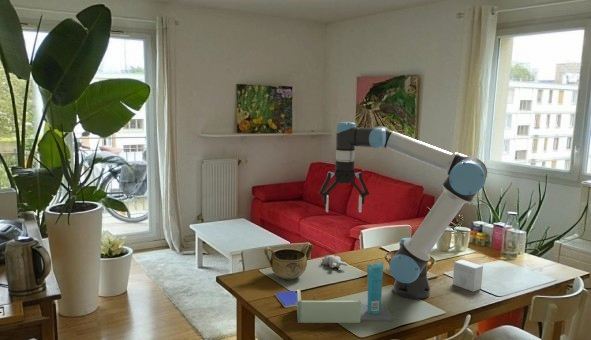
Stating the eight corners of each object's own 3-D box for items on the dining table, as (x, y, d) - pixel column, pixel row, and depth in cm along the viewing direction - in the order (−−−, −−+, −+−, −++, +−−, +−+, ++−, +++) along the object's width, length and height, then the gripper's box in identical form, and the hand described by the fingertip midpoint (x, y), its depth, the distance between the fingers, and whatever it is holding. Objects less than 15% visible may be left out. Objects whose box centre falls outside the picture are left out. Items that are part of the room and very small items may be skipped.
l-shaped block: (355, 309, 183) (356, 289, 182) (360, 322, 172) (360, 302, 171) (296, 308, 183) (297, 289, 181) (297, 322, 172) (298, 302, 170)
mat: (385, 306, 186) (385, 304, 186) (392, 320, 174) (392, 319, 174) (355, 306, 186) (355, 304, 186) (360, 320, 174) (360, 319, 174)
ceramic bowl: (304, 268, 226) (305, 237, 224) (318, 281, 210) (319, 248, 208) (259, 273, 219) (260, 242, 216) (270, 287, 203) (270, 253, 201)
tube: (376, 307, 184) (378, 259, 181) (385, 312, 180) (387, 263, 177) (362, 311, 180) (363, 263, 177) (370, 316, 176) (372, 267, 173)
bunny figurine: (336, 252, 237) (349, 259, 223) (336, 262, 237) (349, 269, 223) (318, 254, 234) (330, 261, 220) (319, 264, 234) (331, 271, 220)
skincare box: (481, 288, 205) (483, 265, 203) (473, 292, 201) (475, 268, 199) (460, 281, 213) (462, 258, 211) (452, 284, 209) (453, 261, 207)
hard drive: (304, 302, 186) (293, 290, 198) (284, 305, 184) (275, 292, 195) (304, 306, 186) (293, 293, 198) (284, 309, 184) (275, 296, 195)
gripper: (373, 159, 195) (371, 209, 198) (313, 158, 194) (312, 209, 197) (377, 162, 187) (375, 214, 191) (314, 161, 187) (313, 213, 190)
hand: (343, 211), depth 194 cm, fingers open, 13 cm apart
